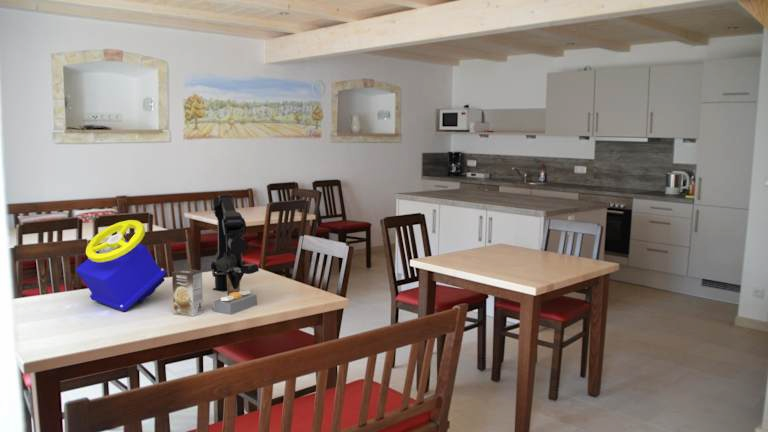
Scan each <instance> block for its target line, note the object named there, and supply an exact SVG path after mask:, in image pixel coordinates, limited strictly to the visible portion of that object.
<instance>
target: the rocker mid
mask: <svg viewBox="0 0 768 432" xmlns="http://www.w3.org/2000/svg"><path fill="white" fill-rule="evenodd" d="M229 296H234V299H238V298H241V297H242V294H240V293H237V292H233V293H230V294H229Z"/></svg>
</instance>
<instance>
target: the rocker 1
mask: <svg viewBox="0 0 768 432" xmlns="http://www.w3.org/2000/svg"><path fill="white" fill-rule="evenodd" d="M220 299H221V301H229V300H232V299H234V296H227V295H225V296H222V297H220Z"/></svg>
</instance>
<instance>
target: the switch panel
mask: <svg viewBox="0 0 768 432" xmlns="http://www.w3.org/2000/svg"><path fill="white" fill-rule="evenodd" d="M257 305H258V295H257V294H255V293H249V294H246V295H242V297H241V298H238V299H232V300H229V301H221V298H220V299H217V300H214V301H213V313H214V312H215V313H220V314H225V315H234V314H237V313H239V312H241V311H244V310H247V309H249V308H253V307H254V306H257Z"/></svg>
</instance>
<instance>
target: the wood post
mask: <svg viewBox="0 0 768 432" xmlns="http://www.w3.org/2000/svg"><path fill="white" fill-rule="evenodd" d="M240 286H241V283H239V285H238V288H237V289H233V286H232V284H231V281H230V279H229V277H228V275H227V294H226V296H229V294H230V293H233V292H239V291H241V287H240Z"/></svg>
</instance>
